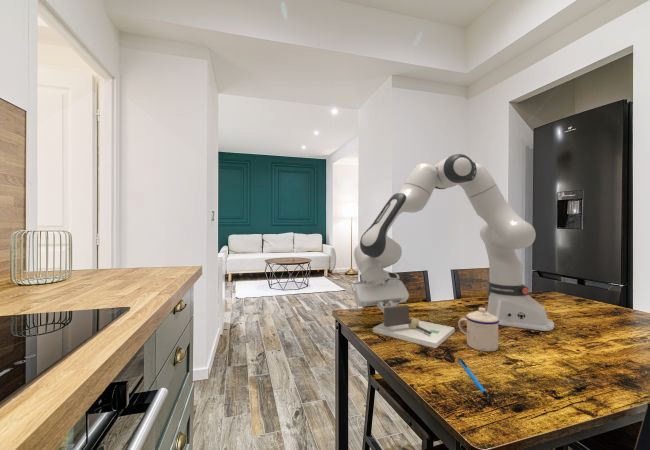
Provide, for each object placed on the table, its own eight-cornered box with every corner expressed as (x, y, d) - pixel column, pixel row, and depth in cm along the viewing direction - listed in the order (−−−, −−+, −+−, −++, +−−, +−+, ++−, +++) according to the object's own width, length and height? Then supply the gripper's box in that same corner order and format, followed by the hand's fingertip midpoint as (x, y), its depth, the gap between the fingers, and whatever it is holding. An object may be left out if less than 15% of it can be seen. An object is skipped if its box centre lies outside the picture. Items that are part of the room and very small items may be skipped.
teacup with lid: (504, 346, 94) (504, 308, 94) (491, 355, 88) (491, 314, 88) (465, 335, 103) (465, 301, 103) (451, 342, 98) (451, 306, 98)
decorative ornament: (388, 306, 140) (388, 295, 140) (404, 310, 134) (404, 298, 134) (383, 308, 137) (383, 296, 137) (398, 312, 131) (398, 299, 131)
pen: (460, 360, 86) (460, 356, 86) (490, 399, 67) (490, 394, 67) (457, 360, 86) (457, 356, 86) (485, 399, 67) (485, 394, 67)
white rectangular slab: (454, 331, 107) (454, 327, 107) (435, 348, 93) (435, 343, 93) (396, 319, 121) (396, 315, 121) (372, 332, 107) (372, 327, 107)
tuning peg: (414, 324, 109) (414, 303, 109) (434, 333, 100) (434, 310, 100) (382, 329, 105) (382, 307, 105) (400, 339, 95) (400, 315, 95)
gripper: (352, 277, 109) (365, 312, 99) (402, 273, 115) (418, 306, 106) (347, 287, 113) (358, 322, 104) (395, 283, 120) (410, 315, 111)
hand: (389, 314), depth 105 cm, fingers closed, pressing on tuning peg
